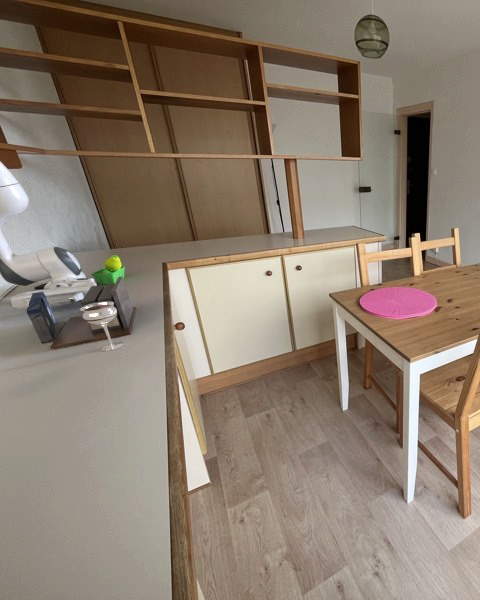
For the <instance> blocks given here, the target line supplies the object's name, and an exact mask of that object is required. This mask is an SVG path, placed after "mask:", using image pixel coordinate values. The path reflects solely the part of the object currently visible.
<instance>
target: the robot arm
mask: <svg viewBox="0 0 480 600" xmlns="http://www.w3.org/2000/svg"><path fill="white" fill-rule="evenodd" d="M29 203H30V198H29V196H28V194H27V192H26V191H25V189H24V187H23V186H22V185H21V183H20V182H19V181H18V180H17V178H16V177H15V175H14V174H13V173H12V172H11V171H10V170H9V168H7V167H6V165H5V164H3V162H2V161H1V160H0V275H1V277H2V278H3V280H4V281H6V283H9V284H12V285H14V286H15V285H16V286H21V287H27V286H30V285H33V284H35V283H39V282H40V281H44V280H48V279H50V280H49V281H48V282H46V283H47V284H46V285H45V287H44V289H34V290H27V291H22V292H19V293H17V294H15V295H13V296H12V297H10V300H9V301H10V303H11V305H12V307H13V308H15V309H27V308H28V307H29V301H30V299H31V296H32V293H38V292H43V293H44V294H45V296H46V299H47V301H48V303H49V305H53V304H62V305H63V304H70V303H77V302H79V301H82V299H83V298H84V296H85V295H86V294H87V292H88V291H89V289H90V288H91V286H98V285H97V282H96V280H95V278H94V277H87V276H86V274H85V273H84V272H83V271H82V269H83V268H82V265H81V263H80V261H79V260H78V258H77V257H76V255H74V254H73V253H72V252H71V251H69V250H68V249H65V248H62V247H59V246H53V247H48V248H43V249H40V250H37V251H33V252H29V253H25V254H20V255H17V254H15V253H14V252H13V250H12V248H11V246H10V244H9V242H8V241H7V239H6V237H5V234H4V232H3V227H4V226H5V224H7V223H8V222H9V221H12V220H13V219H15V218H16V217H18V216H19V215H21V214H22V213H23V212H24V211H26V210H27V208H28V206H29Z"/></svg>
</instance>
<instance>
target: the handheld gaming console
mask: <svg viewBox="0 0 480 600" xmlns="http://www.w3.org/2000/svg"><path fill="white" fill-rule="evenodd" d="M47 283H48V282H45V283H42V284H39V285H36V286H33V288H34V290H42V289H44V287H45V285H46V284H47Z"/></svg>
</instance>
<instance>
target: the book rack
mask: <svg viewBox="0 0 480 600" xmlns="http://www.w3.org/2000/svg"><path fill="white" fill-rule="evenodd" d="M127 289H128V288H127V286H126V283H125V279H124V278H123V277H122V276H121V277H118V279H117V281H116V283H114V284H105V285H100V284H98V285H97V286H91V288H90V289H89V291H88V292H87V294H86V295H85V296H84V298H83V299H82V300H80V305H81V308H82V307H83V306H86V305H89V304H93V303H97V302H106V301H110V302H114V307H115V308H116V309H117V316H116V317H115V319H114V320H113V321H112V322H110V323H108V325H107V328H108V332H109V335H110V338H111V339H114V338H115V339H116V338H119V337H124V336H125V337H126V336H130V335H132V330H133V326H134V323H135V322H134V321H135V319H136V314H137V310H138V309H137V306H132V302H131V299H130V296H129V292H128V290H127ZM104 340H108V337H107V335H106V333H105V331H104V328H103V326H100V325H92V324H90V323H87V322H86V321H85V320H84V319H83V317H82V315H77V316H70V317H69V319H68V320H67V321H66V322H65V325H64V326H63V327H62V329H61V330H60V331H59V333H58V335H57V336H56V338H54V341H52V344H51V345H50V350H51V351H53V350H52V349H54V350H58V348H59V349H64V348H69V347H74V346H79V345H83V343H85V344H90V343H94V342H99V341H104ZM89 342H90V343H89ZM78 344H79V345H78ZM73 345H74V346H73ZM68 346H69V347H68ZM63 347H64V348H63Z"/></svg>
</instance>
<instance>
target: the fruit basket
mask: <svg viewBox="0 0 480 600" xmlns="http://www.w3.org/2000/svg"><path fill="white" fill-rule="evenodd" d="M103 265H104V267H103V268H101V269H98V270H97V271H95V272H93V273H91V276H92V278H93V279H94V280H95V281H96V283H98V285H104V286H106V284H114V283H116V281H117V279H118V277H121V276H122V277H123V279H125V269H126V267H125V266H122V262H121V258H120V257H119V256H118V255H116V254H115V255H113V254H112V255H111V256H110V257H109V258H108V259H106V260H105V261H104V263H103Z"/></svg>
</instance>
